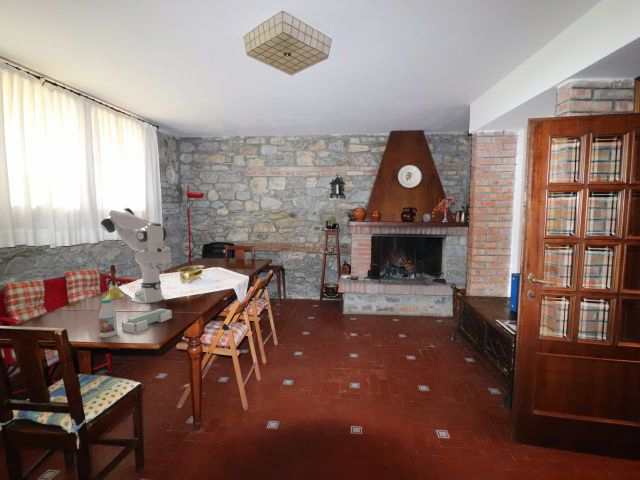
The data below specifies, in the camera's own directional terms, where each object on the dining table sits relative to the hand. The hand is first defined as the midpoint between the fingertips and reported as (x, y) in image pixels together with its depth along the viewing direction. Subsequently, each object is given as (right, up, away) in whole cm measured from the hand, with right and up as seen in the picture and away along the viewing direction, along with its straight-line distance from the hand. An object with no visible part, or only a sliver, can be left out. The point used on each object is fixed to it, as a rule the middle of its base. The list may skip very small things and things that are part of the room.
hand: (157, 269), depth 204 cm
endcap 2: (+5, -30, -6) cm, 31 cm away
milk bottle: (-10, -33, -31) cm, 46 cm away
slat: (+2, -30, -15) cm, 34 cm away
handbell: (-55, -25, +43) cm, 74 cm away
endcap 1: (-1, -32, -23) cm, 39 cm away
